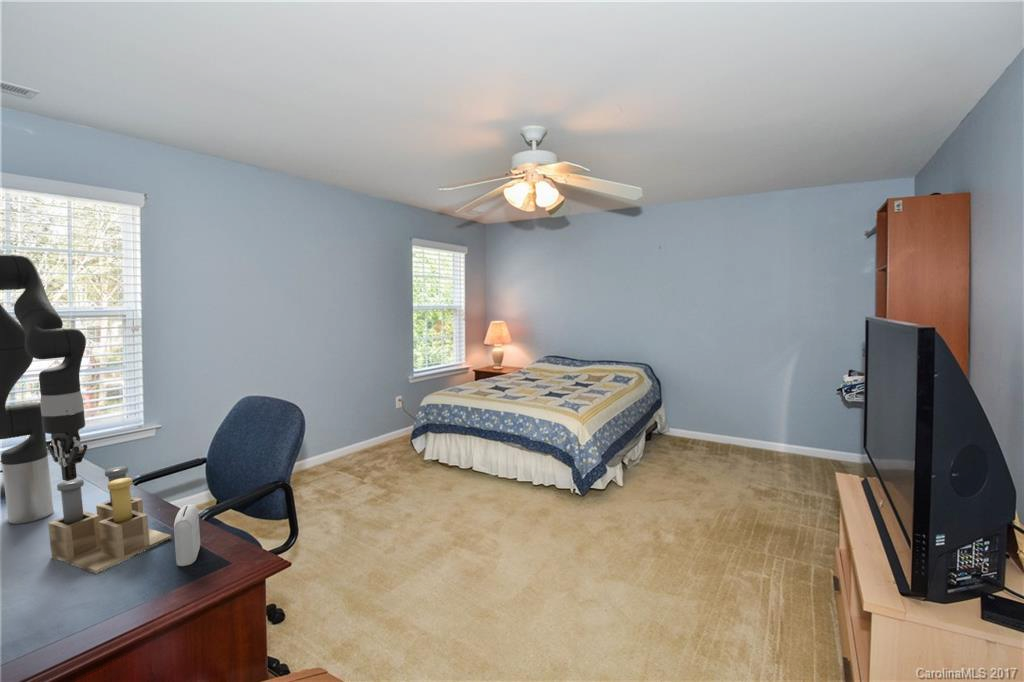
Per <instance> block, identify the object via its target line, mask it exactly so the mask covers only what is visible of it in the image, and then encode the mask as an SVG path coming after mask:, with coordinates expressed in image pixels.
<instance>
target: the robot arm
mask: <svg viewBox="0 0 1024 682" xmlns="http://www.w3.org/2000/svg"><path fill="white" fill-rule="evenodd" d="M11 290H12V291H16V290H17V291H18V290H19V291H20V290H23V292H22V294H21V295H20V296H19V297H18V298H17V299H16V301H15V302H14V306H13V312H14V315H15V317H16V319H17V320H16V319H15V318H14V317H13V316H11V314H10V313H9V312H8V311H7V310H6V308H4V307H3V305H2V304H1V303H0V440H6V439H12V438H13V439H14V438H19V437H24V436H29V437H27V439H25V440H24V441H22V442H21V443H18V444H17V445H15V446H13V447H10V448H7V449H6V450H4V451H3V452H2V453H1V454H0V462H1V467H2V468H1V469H2V475H3V484H4V485H3V487H4V494H5V500H6V501H5V503H6V511H7V521H8V523H10V524H12V525H13V524H15V525H19V524H26V523H31V522H34V521H38V520H41V519H43V518H47V517H49V516H50V515H51V514H53V512H54V504H53V503H54V502H53V494H52V493H53V492H52V483H51V473H50V467H49V466H50V465H49V463H50V462H49V455H48V451H49V453H50V455H51V458H52V459H53V461H54V462H55V463H58V465H59V467H60V468H61V478H62V480H63V481H64V482H65V481H70V480H74V479H78V478H77V477H78V475H77V466H76V465H77V464H79V463H82V462H83V459H84V456H85V454H86V453H87V449H88V444H82V443H81V436H80V434H79V431H80V430H81V429H83V428H85V427H86V417H85V408H84V399H83V395H82V392H81V380H80V369H81V367H82V366H81V365H82V361H83V357H84V353H85V350H86V345H87V341H86V336H85V334H84V333H83V332H82V331H81V330H80V329H78V328H76V327H75V328H74V327H64V328H63V325H64V324H63V320H62V318H61V317H60V315H59V314H58V313H57V311H56V309H55V308H54V306H53V305H52V304H51V302H50V300H49V298H48V295H47V292H46V290H45V287H44V284H43V281H42V279H41V277H40V273H39V272H38V269H37V267H36V265H35V263H34V262H33V261H32V259H30V257H28V256H27V255H22V254H9V253H7V254H6V253H0V291H11ZM59 358H60V359H62V358H63V360H62V362H61V363H60V364H59V365H56V366H53V367H49V368H46V369H44V370H42V371H40V372H39V375H38V380H39V381H38V382H39V391H40V402H39V401H31V402H30V401H29V402H22V403H15V404H9V405H6V403H7V399H8V397H9V395H10V393H11V391H12V389H13V388H14V386H15V385H16V384H17V383H18V381H19V380H20V379H21V378H22V377H23V376H24V375H25V373H26V372H27V370H28V369H29V368H30V366H31V365H32V363H33V360H34V359H35V360H51V359H52V360H53V359H59ZM46 434H48V435H50V438H51V439H50V440H46V439H47V438H46V436H47V435H46Z"/></svg>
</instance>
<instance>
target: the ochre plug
mask: <svg viewBox="0 0 1024 682" xmlns="http://www.w3.org/2000/svg"><path fill="white" fill-rule="evenodd" d="M133 483H134V482H133V478H131V477H126V478H121V479H116V480H113V481H111V482H109V481H108V483H106V484H107V489H108V490H109V489H110V490H111V494H112V505H113V516H114V523H117V524H119V523H123V522H125V521H127V520H130V519H132V518H133V517H132V506H131V486H132V485H133Z"/></svg>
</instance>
